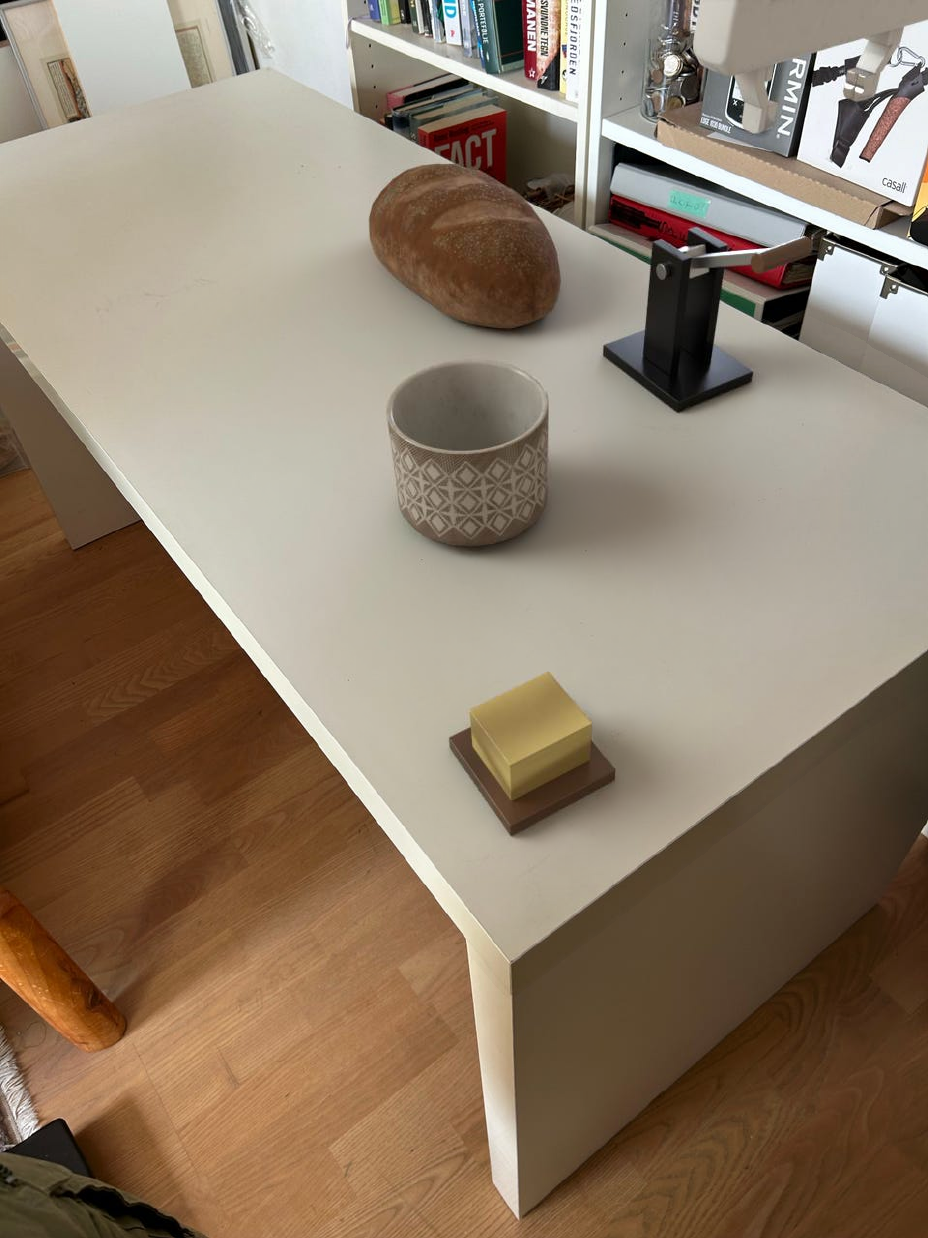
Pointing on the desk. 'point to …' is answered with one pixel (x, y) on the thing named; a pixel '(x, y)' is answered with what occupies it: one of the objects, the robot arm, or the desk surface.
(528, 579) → the desk surface
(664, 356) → the slicer
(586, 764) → the butter
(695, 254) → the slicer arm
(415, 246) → the bread
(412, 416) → the planter
